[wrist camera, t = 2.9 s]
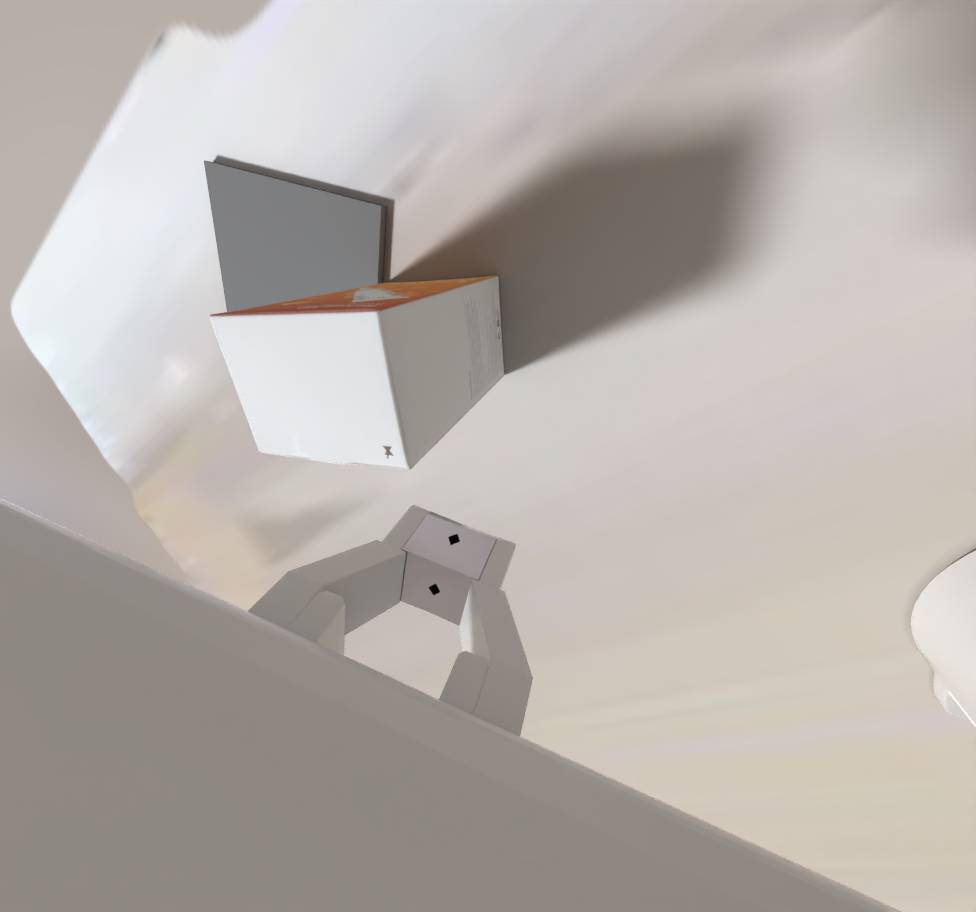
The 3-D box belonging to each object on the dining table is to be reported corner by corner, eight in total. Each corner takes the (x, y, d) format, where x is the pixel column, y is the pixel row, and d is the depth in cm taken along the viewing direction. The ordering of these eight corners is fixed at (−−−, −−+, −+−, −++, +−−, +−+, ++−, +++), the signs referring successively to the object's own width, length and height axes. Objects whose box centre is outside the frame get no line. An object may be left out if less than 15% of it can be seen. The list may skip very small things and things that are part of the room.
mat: (386, 206, 24) (381, 206, 23) (377, 388, 30) (372, 391, 30) (212, 161, 26) (203, 160, 26) (238, 339, 33) (231, 341, 32)
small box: (500, 272, 24) (380, 307, 13) (506, 376, 27) (412, 475, 16) (382, 280, 26) (201, 313, 16) (400, 374, 29) (258, 457, 18)
